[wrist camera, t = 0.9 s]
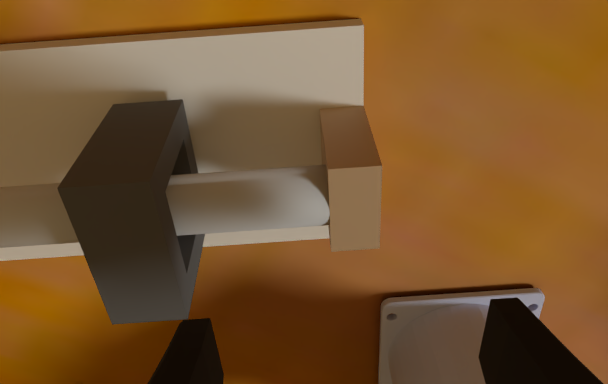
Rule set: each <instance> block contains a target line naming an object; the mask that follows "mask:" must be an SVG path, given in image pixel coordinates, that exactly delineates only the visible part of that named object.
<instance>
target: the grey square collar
mask: <svg viewBox="0 0 608 384" xmlns="http://www.w3.org/2000/svg"><path fill="white" fill-rule="evenodd" d="M196 173H198V169H197V164H196V160H195V155H194V150H193V145H192V141H191V136H190V131H189V126H188V122H187V117H186V112H185V108H184V103H183V99H179V100H165V101H151V102H137V103H123V104H113V105H112V107H111V108H110V110H109V111H108V113H107V114H106V116H105V117H104V119H103V120H102V122H101V123H100V125H99V126H98V128H97V129H96V131H95V132H94V134H93V135H92V137H91V138H90V140H89V141H88V143H87V144H86V146H85V147H84V149H83V150H82V152H81V153H80V155H79V156H78V158H77V159H76V161H75V162H74V164H73V165H72V167H71V168H70V170H69V171H68V173H67V174H66V176H65V177H64V179H63V180H62V182H61V183H60V185H59V186H58V188H57V189H58V192H59V194H60V197H61V199H62V202H63V204H64V206H65V209H66V211H67V214H68V216H69V219H70V221H71V224H72V226H73V229H74V231H75V234H76V236H77V239H78V241H79V243H80V246H81V248H82V251H83V253H84V256H85V258H86V261H87V263H88V266H89V268H90V271H91V273H92V275H93V278H94V280H95V283H96V285H97V288H98V290H99V293H100V295H101V298H102V300H103V303H104V305H105V307H106V310H107V312H108V315H109V317H110V320H111V322H112V324H124V323H139V322H154V321H168V320H183V319H188V316H189V311H190V306H191V301H192V296H193V292H194V287H195V282H196V277H197V272H198V267H199V262H200V257H201V252H202V247H203V242H204V237H205V234H194V235H180V236H177V235H176V231H175V227H174V223H173V219H172V215H171V212H170V208H169V204H168V200H167V196H166V189H167V186H168V183H169V180H170V177H171V175H182V174H196Z"/></svg>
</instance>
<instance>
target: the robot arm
mask: <svg viewBox="0 0 608 384" xmlns="http://www.w3.org/2000/svg"><path fill="white" fill-rule="evenodd" d="M544 299H545V296H544V294H543V293H542V291H541V290H540V289H538V288H526V289H511V290H496V291H482V292H467V293H452V294H438V295H423V296H408V297H394V298H387V299H385V300H384V301H383V302H382V303H381V313H380V341H379V369H378V384H603V383H602V382H601V381H600V380H599V379H598V378H597V377H596V376H595V375H594V374H593V373H592V372H591V371H590V370H589V369H588V368H587V367H585V366H584V365H583V364H582V363H581V362H580V361H579V360H578V359H577V358H576V357H575V356H574V355H573V354H572V353H571V352H570V351H569V350H568V349H567V348H566V347H565V346H564V345H563V344H562V343H561V342H560V341H559V340H558V339H557V338H556V337H555V336H554V334H553V333H552V332H551V331H550V330H549V329H548V328H547V327H546V326H545V325H544V324H543V323H542V322H541V321H540V320H539V316H540V313H541V309H542V306H543V302H544ZM531 304H532V305H531ZM391 313H393V314H391ZM389 314H391V315H389ZM223 377H224V374H223V370H222V366H221V361H220V357H219V353H218V349H217V345H216V341H215V337H214V332H213V328H212V324H211V320H210V318H206V319H192V320H183V321H182V322H181V323H180V324H179V326H178V328H177V330H176V332H175V334H174V336H173V338H172V340H171V342H170V344H169V346H168V348H167V350H166V352H165V354H164V356H163V357H162V359H161V361H160V363H159V365H158V367H157V368H156V370H155V372H154V374H153V376H152V377H151V379H150V381H149V382H148V384H223Z"/></svg>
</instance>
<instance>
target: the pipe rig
mask: <svg viewBox="0 0 608 384" xmlns="http://www.w3.org/2000/svg"><path fill="white" fill-rule="evenodd" d="M363 84H364V24H363V22H362V20H361V19H347V20H333V21H320V22H306V23H292V24H278V25H264V26H250V27H236V28H222V29H208V30H194V31H180V32H166V33H152V34H138V35H124V36H110V37H96V38H82V39H68V40H54V41H40V42H26V43H12V44H0V261H5V260H20V259H34V258H49V257H63V256H78V255H84V253H83V251H82V248H81V246H80V243H79V241H78V239H77V236H76V234H75V231H74V229H73V226H72V224H71V221H70V219H69V216H68V214H67V211H66V209H65V206H64V204H63V202H62V199H61V197H60V194H59V192H58V189H57V188H58V186H59V185H60V183H61V182H62V180H63V179H64V177H65V176H66V174H67V173H68V171H69V170H70V168H71V167H72V165H73V164H74V162H75V161H76V159H77V158H78V156H79V155H80V153H81V152H82V150H83V149H84V147H85V146H86V144H87V143H88V141H89V140H90V138H91V137H92V135H93V134H94V132H95V131H96V129H97V128H98V126H99V125H100V123H101V122H102V120H103V119H104V117H105V116H106V114H107V113H108V111H109V110H110V108H111V107H112V105H113V104H123V103H137V102H151V101H165V100H179V99H183V103H184V108H185V112H186V117H187V122H188V126H189V131H190V136H191V141H192V145H193V150H194V155H195V160H196V164H197V169H198V173H196V174H182V175H171V177H170V180H169V183H168V186H167V189H166V196H167V200H168V204H169V208H170V212H171V215H172V219H173V223H174V227H175V231H176V235H177V236H180V235H194V234H205V237H204V242H203V247H208V246H223V245H237V244H252V243H266V242H281V241H295V240H310V239H324V238H330V245H331V252H333V251H348V250H362V249H377V248H380V217H381V185H382V164H381V161H380V157H379V154H378V151H377V148H376V145H375V141H374V138H373V135H372V132H371V129H370V125H369V122H368V119H367V116H366V113H365V109H364V106H363Z"/></svg>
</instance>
